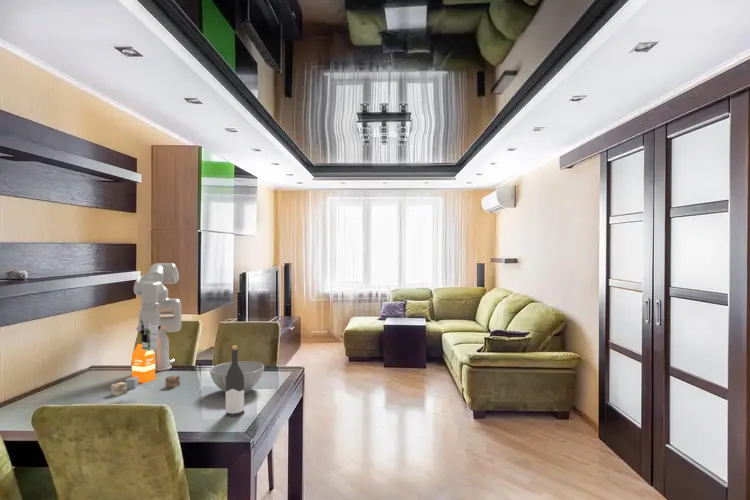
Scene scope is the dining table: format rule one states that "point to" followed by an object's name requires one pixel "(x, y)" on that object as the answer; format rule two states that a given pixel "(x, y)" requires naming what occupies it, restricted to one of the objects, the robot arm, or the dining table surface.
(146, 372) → the orange juice
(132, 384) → the slate painted cube
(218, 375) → the decorative bowl
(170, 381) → the walnut cube
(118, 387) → the maple cube
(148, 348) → the syrup box
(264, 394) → the dining table surface
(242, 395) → the wine bottle
